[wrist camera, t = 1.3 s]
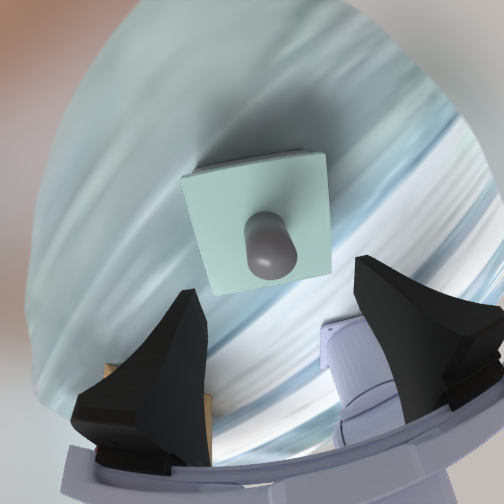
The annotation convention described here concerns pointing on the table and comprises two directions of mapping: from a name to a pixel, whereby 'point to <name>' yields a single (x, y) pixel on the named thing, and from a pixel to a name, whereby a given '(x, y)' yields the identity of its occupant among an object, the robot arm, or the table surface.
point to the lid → (262, 221)
